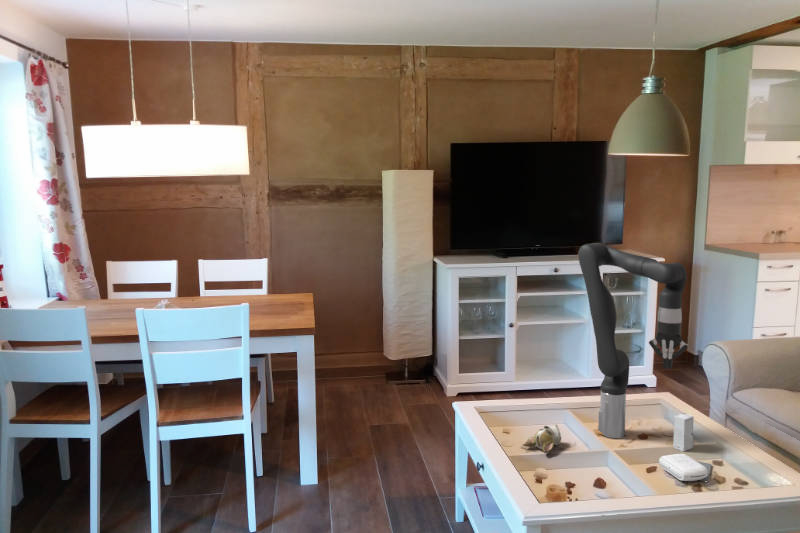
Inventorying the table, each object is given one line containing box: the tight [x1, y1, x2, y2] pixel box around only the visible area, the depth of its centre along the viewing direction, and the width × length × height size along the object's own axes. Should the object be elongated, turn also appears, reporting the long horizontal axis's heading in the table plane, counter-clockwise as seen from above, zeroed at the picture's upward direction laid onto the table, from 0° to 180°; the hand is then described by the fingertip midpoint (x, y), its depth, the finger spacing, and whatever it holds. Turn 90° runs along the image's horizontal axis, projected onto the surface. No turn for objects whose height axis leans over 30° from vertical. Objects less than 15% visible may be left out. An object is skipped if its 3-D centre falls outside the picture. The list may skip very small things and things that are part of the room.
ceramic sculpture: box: [522, 423, 562, 454], centre depth 215 cm, size 11×9×15 cm
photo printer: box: [658, 453, 708, 482], centre depth 191 cm, size 10×4×12 cm
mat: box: [696, 460, 712, 482], centre depth 196 cm, size 10×14×1 cm
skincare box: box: [672, 412, 695, 452], centre depth 213 cm, size 6×4×12 cm
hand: (667, 368), depth 204 cm, fingers closed
